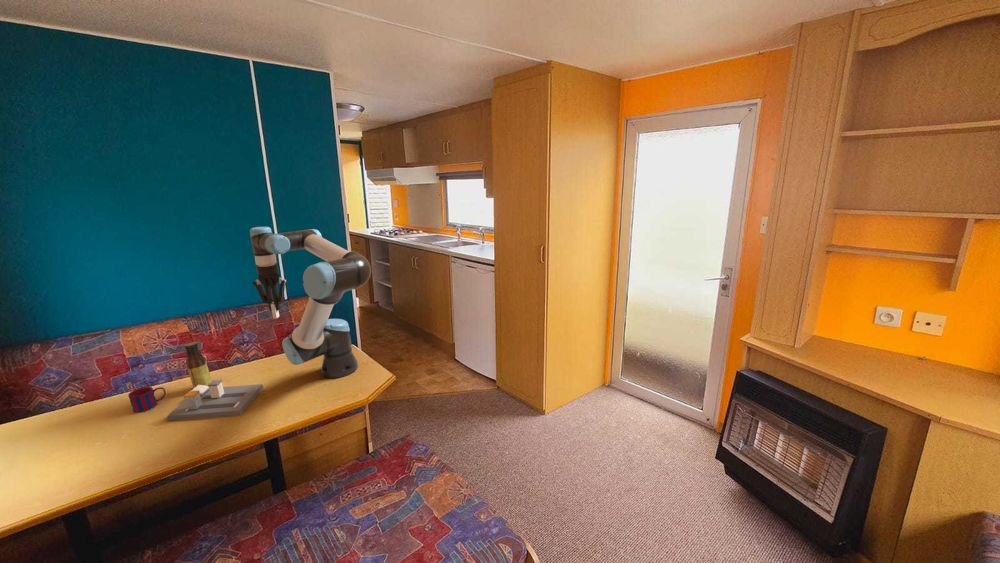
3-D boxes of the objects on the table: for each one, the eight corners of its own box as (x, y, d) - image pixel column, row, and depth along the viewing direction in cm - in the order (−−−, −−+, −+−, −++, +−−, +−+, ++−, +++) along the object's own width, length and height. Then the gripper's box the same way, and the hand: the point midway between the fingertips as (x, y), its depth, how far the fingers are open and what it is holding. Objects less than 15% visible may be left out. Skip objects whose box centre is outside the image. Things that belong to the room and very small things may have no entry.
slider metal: (202, 404, 142) (199, 390, 141) (197, 409, 139) (193, 395, 138) (193, 404, 142) (189, 391, 140) (187, 409, 139) (184, 395, 137)
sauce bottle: (216, 384, 160) (206, 340, 155) (204, 392, 154) (192, 347, 149) (202, 383, 161) (191, 340, 155) (189, 391, 155) (177, 346, 149)
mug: (135, 406, 146) (130, 390, 144) (169, 397, 151) (164, 382, 149) (131, 415, 140) (126, 398, 138) (167, 405, 146) (162, 389, 144)
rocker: (209, 390, 153) (209, 386, 152) (201, 397, 148) (201, 393, 148) (198, 388, 152) (198, 384, 152) (190, 395, 147) (190, 391, 147)
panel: (263, 388, 157) (262, 384, 156) (240, 415, 139) (239, 410, 139) (199, 393, 154) (198, 388, 153) (167, 420, 137) (166, 415, 136)
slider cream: (224, 393, 149) (221, 379, 148) (220, 397, 146) (216, 384, 145) (215, 393, 149) (212, 380, 148) (210, 398, 146) (207, 384, 144)
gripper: (286, 261, 164) (295, 313, 171) (254, 262, 163) (264, 315, 169) (279, 265, 157) (288, 319, 164) (245, 267, 155) (256, 321, 162)
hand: (276, 317), depth 166 cm, fingers closed
